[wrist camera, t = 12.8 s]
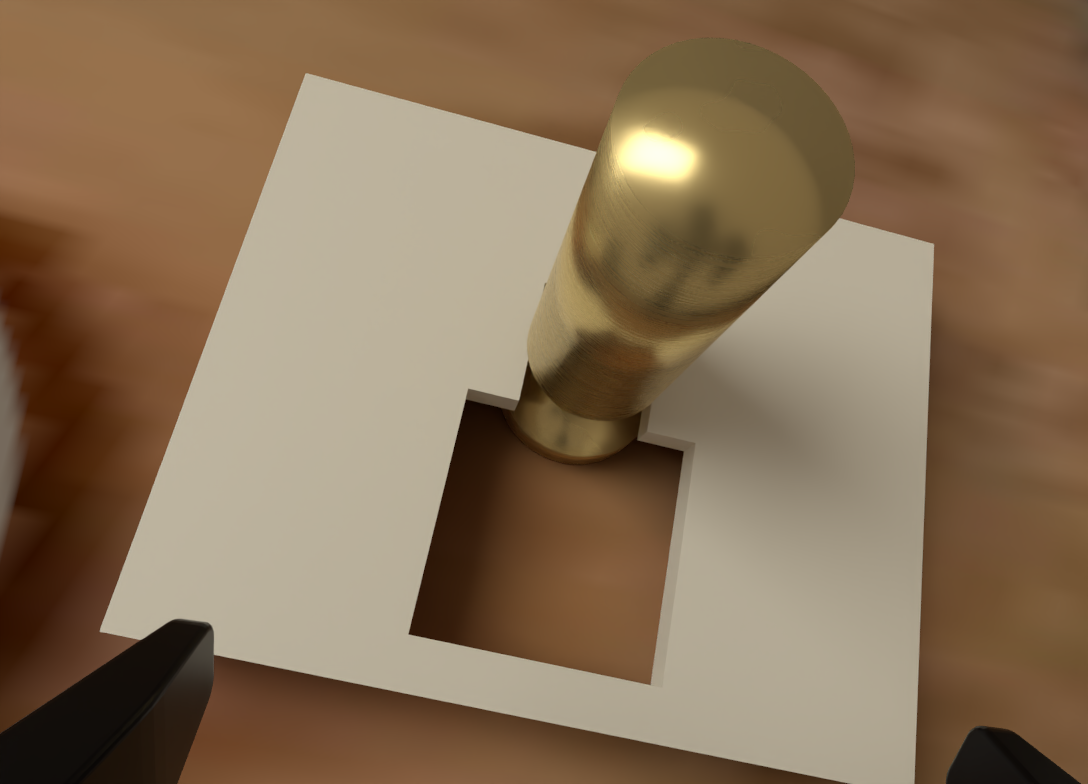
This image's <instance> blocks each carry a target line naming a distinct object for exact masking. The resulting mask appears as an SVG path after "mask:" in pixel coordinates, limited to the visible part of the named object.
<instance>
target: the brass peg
mask: <svg viewBox="0 0 1088 784" xmlns="http://www.w3.org/2000/svg"><path fill="white" fill-rule="evenodd" d="M854 176H855V161H854V154H853V147H852V143H851V140H850V136H849V133H848V131H847V128H846V126H845V123H844V121H843V119H842V117H841V115H840V114H839V112H838V110H837V108H836V107H835V105H834V104H833V102H832V101H831V100H830V98H829V97H828V95H827V94H826V93H825V92H824V91H823V90H822V89H821V87H820V86H819V85H818V84H817V83H816V82H815V81H814V80H813V79H812V78H810V77H809V76H808V75H807V74H806V73H805V72H804V71H802V70H801V69H800V68H798V67H797V66H795V65H794V64H793V63H791V62H789V61H788V60H786V59H784V58H783V57H781V56H779V55H777V54H775V53H773V52H771V51H769V50H767V49H764V48H762V47H759V46H756V45H753V44H750V43H746V42H742V41H738V40H732V39H724V38H699V39H690V40H686V41H682V42H677V43H674V44H672V45H669V46H667V47H664V48H662V49H660V50H658V51H657V52H655V53H653V54H651V55H650V56H649V57H647V58H646V59H645V60H643V61H642V62H641V63H640V64H639V65H638V66H637V67H636V68H635V69H634V70H633V71H632V72H631V74H630V75H629V77H628V78H627V79H626V81H625V82H624V84H623V86H622V88H621V90H620V93H619V95H618V97H617V100H616V102H615V105H614V108H613V110H612V113H611V115H610V118H609V121H608V123H607V126H606V129H605V131H604V134H603V136H602V139H601V142H600V144H599V147H598V150H597V152H596V155H595V157H594V160H593V163H592V165H591V168H590V170H589V173H588V176H587V178H586V181H585V184H584V186H583V189H582V191H581V194H580V197H579V199H578V202H577V204H576V207H575V210H574V212H573V215H572V218H571V220H570V223H569V225H568V228H567V231H566V233H565V236H564V238H563V241H562V244H561V246H560V249H559V252H558V254H557V257H556V259H555V262H554V265H553V267H552V270H551V272H550V275H549V278H548V280H547V283H546V286H545V288H544V291H543V293H542V296H541V299H540V301H539V304H538V307H537V309H536V312H535V314H534V317H533V320H532V322H531V325H530V329H529V332H528V338H527V354H528V362H527V367H526V371H525V376H524V380H523V385H522V390H521V394H520V399H519V402H518V404H517V406H516V409H515V411H513V410H509V409H505V408H501V410H502V412H503V415H504V417H505V420H506V421H507V423H508V425H509V427H510V428H511V430H512V431H513V432H514V434H515V435H516V436H517V437H518V438H519V439H520V440H521V441H522V442H523V443H524V444H525V445H526V446H527V447H529V448H530V449H531V450H533V451H534V452H536V453H537V454H539V455H541V456H543V457H545V458H548V459H550V460H553V461H556V462H560V463H566V464H590V463H594V462H598V461H601V460H604V459H607V458H609V457H611V456H613V455H614V454H616V453H618V452H619V451H620V450H622V449H623V448H624V447H625V446H627V445H628V444H629V443H630V442H631V441H632V440H633V439H634V438H636V437H637V436H638V432H639V426H640V420H641V414H642V410H644V409H645V408H646V407H648V406H649V405H650V404H651V403H652V402H653V401H654V400H655V399H656V398H657V397H658V396H659V395H660V394H661V393H662V392H663V391H664V390H665V389H666V388H667V387H669V386H670V385H671V384H672V383H673V382H674V381H675V380H676V379H677V378H678V377H679V376H680V375H681V374H682V373H683V372H684V371H685V370H686V369H687V368H688V367H689V366H690V365H691V364H692V363H693V362H694V361H695V360H696V359H697V358H698V357H699V356H700V355H701V354H702V353H703V352H704V351H705V350H707V349H708V348H709V347H710V346H711V345H712V344H713V343H714V342H715V341H716V340H717V339H718V338H719V337H720V336H721V335H722V334H723V333H724V332H725V331H726V330H727V329H728V328H729V327H730V326H731V325H732V324H733V323H734V322H735V321H736V320H737V319H738V318H739V317H740V316H741V315H742V314H743V313H745V312H746V311H747V310H748V309H749V308H750V307H751V306H752V305H753V304H754V303H755V302H756V301H757V300H758V299H759V298H760V297H761V296H762V295H763V294H764V293H765V292H766V291H767V290H768V289H769V288H770V287H771V286H772V285H773V284H774V283H775V282H776V281H777V280H778V279H779V278H780V277H781V276H783V275H784V274H785V273H786V272H787V271H788V270H789V269H790V268H791V267H792V266H793V265H794V264H795V263H796V262H797V261H798V260H799V259H800V258H801V257H802V256H803V255H804V254H805V253H806V252H807V251H808V250H809V249H810V248H811V247H812V246H813V245H814V244H815V243H816V242H817V241H818V240H820V239H821V238H822V237H823V236H824V235H825V234H826V233H827V232H828V231H829V230H830V229H831V228H832V227H833V226H834V225H835V223H836V222H837V221H838V219H839V218H840V217H841V215H842V214H843V212H844V210H845V208H846V206H847V204H848V202H849V199H850V195H851V192H852V189H853V183H854Z"/></svg>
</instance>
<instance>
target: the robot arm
mask: <svg viewBox="0 0 1088 784" xmlns="http://www.w3.org/2000/svg"><path fill="white" fill-rule="evenodd" d="M213 677H214V631H213V627H212V625H211V624H209V623H208V622H203V621H195V620H188V619H174V620H171V621H169V622H167V623H166V624H164V625H163V626H161V627H160V628H158V629H157V630H155V631H154V632H152V633H151V634H149V635H148V636H146V637H145V638H143V639H142V640H140V641H139V642H137V643H136V644H134V645H133V646H131V647H130V648H128V649H127V650H125V651H124V652H122V653H121V654H119V655H118V656H116V657H115V658H113V659H112V660H110V661H109V662H107V663H106V664H104V665H103V666H101V667H100V668H98V669H97V670H95V671H94V672H92V673H91V674H89V675H88V676H86V677H85V678H83V679H82V680H80V681H79V682H77V683H76V684H74V685H73V686H71V687H70V688H68V689H67V690H65V691H64V692H62V693H61V694H59V695H57V696H56V697H54V698H53V699H51V700H50V701H48V702H47V703H45V704H44V705H42V706H41V707H39V708H38V709H36V710H35V711H33V712H32V713H30V714H29V715H27V716H26V717H24V718H23V719H21V720H20V721H18V722H17V723H15V724H14V725H12V726H11V727H9V728H8V729H6V730H5V731H3V732H2V733H0V784H177V783H178V780H179V778H180V775H181V773H182V770H183V767H184V765H185V762H186V759H187V757H188V754H189V751H190V749H191V746H192V743H193V741H194V738H195V735H196V733H197V730H198V727H199V725H200V722H201V719H202V717H203V714H204V711H205V709H206V706H207V703H208V701H209V698H210V694H211V690H212V686H213ZM946 784H1081V783H1079V782H1078V781H1077V780H1076V779H1074V778H1073V777H1072V776H1070V775H1069V774H1068V773H1067V772H1065V771H1064V770H1063V769H1061V768H1060V767H1059V766H1057V765H1056V764H1055V763H1054V762H1052V761H1051V760H1050V759H1048V758H1047V757H1046V756H1045V755H1043V754H1042V753H1041V752H1039V751H1038V750H1037V749H1036V748H1034V747H1033V746H1032V745H1030V744H1029V743H1028V742H1026V741H1025V740H1024V739H1023V738H1021V737H1020V736H1019V735H1017V734H1016V733H1014V732H1012V731H1010V730H1007V729H1002V728H995V727H987V726H976V727H975V728H973V729H972V730H970V732H969V733H968V735H967V737H966V738H965V740H964V742H963V744H962V746H961V748H960V749H959V751H958V753H957V755H956V757H955V759H954V760H953V762H952V764H951V766H950V768H949V770H948V772H947V777H946Z"/></svg>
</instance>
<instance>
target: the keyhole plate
mask: <svg viewBox="0 0 1088 784" xmlns="http://www.w3.org/2000/svg"><path fill="white" fill-rule="evenodd" d="M595 155H596V152H594V151H590V150H586V149H583V148H579V147H575V146H572V145H568V144H564V143H561V142H557V141H553V140H550V139H546V138H542V137H539V136H535V135H531V134H528V133H524V132H520V131H517V130H513V129H509V128H506V127H502V126H498V125H495V124H491V123H487V122H484V121H480V120H476V119H473V118H469V117H465V116H462V115H458V114H454V113H451V112H447V111H443V110H440V109H436V108H432V107H429V106H425V105H421V104H417V103H414V102H410V101H406V100H403V99H399V98H395V97H392V96H388V95H384V94H381V93H377V92H373V91H370V90H366V89H362V88H359V87H355V86H351V85H348V84H344V83H340V82H337V81H333V80H329V79H326V78H322V77H318V76H315V75H311V74H307V73H306V74H305V77H304V80H303V82H302V85H301V88H300V90H299V93H298V96H297V98H296V101H295V104H294V107H293V109H292V112H291V115H290V117H289V120H288V123H287V126H286V128H285V131H284V134H283V136H282V139H281V142H280V144H279V147H278V150H277V153H276V155H275V158H274V161H273V163H272V166H271V169H270V172H269V174H268V177H267V180H266V182H265V185H264V188H263V190H262V193H261V196H260V199H259V201H258V204H257V207H256V209H255V212H254V215H253V217H252V220H251V223H250V226H249V228H248V231H247V234H246V236H245V239H244V242H243V245H242V247H241V250H240V253H239V255H238V258H237V261H236V263H235V266H234V269H233V272H232V274H231V277H230V280H229V282H228V285H227V288H226V291H225V293H224V296H223V299H222V301H221V304H220V307H219V309H218V312H217V315H216V318H215V320H214V323H213V326H212V328H211V331H210V334H209V336H208V339H207V342H206V345H205V347H204V350H203V353H202V355H201V358H200V361H199V364H198V366H197V369H196V372H195V374H194V377H193V380H192V382H191V385H190V388H189V391H188V393H187V396H186V399H185V401H184V404H183V407H182V410H181V412H180V415H179V418H178V420H177V423H176V426H175V428H174V431H173V434H172V437H171V439H170V442H169V445H168V447H167V450H166V453H165V456H164V458H163V461H162V464H161V466H160V469H159V472H158V474H157V477H156V480H155V483H154V485H153V488H152V491H151V493H150V496H149V499H148V501H147V504H146V507H145V510H144V512H143V515H142V518H141V520H140V523H139V526H138V529H137V531H136V534H135V537H134V539H133V542H132V545H131V547H130V550H129V553H128V556H127V558H126V561H125V564H124V566H123V569H122V572H121V575H120V577H119V580H118V583H117V585H116V588H115V591H114V593H113V596H112V599H111V602H110V604H109V607H108V610H107V612H106V615H105V618H104V620H103V623H102V626H101V629H100V632H105V633H110V634H114V635H119V636H124V637H129V638H134V639H139V640H142V639H143V638H145V637H146V636H148V635H149V634H151V633H152V632H154V631H155V630H157V629H158V628H160V627H161V626H163V625H164V624H166V623H167V622H169V621H171V620H174V619H188V620H195V621H203V622H208V623H209V624H211V625H212V627H213V631H214V655H218V656H223V657H228V658H233V659H238V660H243V661H248V662H253V663H257V664H262V665H267V666H272V667H277V668H282V669H287V670H292V671H297V672H302V673H307V674H312V675H317V676H322V677H327V678H331V679H336V680H341V681H346V682H351V683H356V684H361V685H366V686H371V687H376V688H381V689H386V690H391V691H396V692H401V693H405V694H410V695H415V696H420V697H425V698H430V699H435V700H440V701H445V702H450V703H455V704H460V705H465V706H470V707H474V708H479V709H484V710H489V711H494V712H499V713H504V714H509V715H514V716H519V717H524V718H529V719H534V720H539V721H544V722H548V723H553V724H558V725H563V726H568V727H573V728H578V729H583V730H588V731H593V732H598V733H603V734H608V735H613V736H618V737H622V738H627V739H632V740H637V741H642V742H647V743H652V744H657V745H662V746H667V747H672V748H677V749H682V750H687V751H691V752H696V753H701V754H706V755H711V756H716V757H721V758H726V759H731V760H736V761H741V762H746V763H751V764H756V765H761V766H765V767H770V768H775V769H780V770H785V771H790V772H795V773H800V774H805V775H810V776H815V777H820V778H825V779H830V780H835V781H839V782H844V783H849V784H914V779H915V751H916V724H917V697H918V669H919V642H920V614H921V587H922V560H923V532H924V505H925V477H926V450H927V423H928V395H929V368H930V340H931V313H932V286H933V258H934V244H932V243H928V242H924V241H921V240H917V239H913V238H910V237H906V236H902V235H899V234H895V233H891V232H888V231H884V230H880V229H877V228H873V227H869V226H866V225H862V224H858V223H855V222H851V221H847V220H843V219H840V218H839V219H838V221H837V222H836V223H835V225H834V226H833V227H832V228H831V229H830V230H829V231H828V232H827V233H826V234H825V235H824V236H823V237H822V238H821V239H820V240H818V241H817V242H816V243H815V244H814V245H813V246H812V247H811V248H810V249H809V250H808V251H807V252H806V253H805V254H804V255H803V256H802V257H801V258H800V259H799V260H798V261H797V262H796V263H795V264H794V265H793V266H792V267H791V268H790V269H789V270H788V271H787V272H786V273H785V274H784V275H783V276H781V277H780V278H779V279H778V280H777V281H776V282H775V283H774V284H773V285H772V286H771V287H770V288H769V289H768V290H767V291H766V292H765V293H764V294H763V295H762V296H761V297H760V298H759V299H758V300H757V301H756V302H755V303H754V304H753V305H752V306H751V307H750V308H749V309H748V310H747V311H746V312H745V313H743V314H742V315H741V316H740V317H739V318H738V319H737V320H736V321H735V322H734V323H733V324H732V325H731V326H730V327H729V328H728V329H727V330H726V331H725V332H724V333H723V334H722V335H721V336H720V337H719V338H718V339H717V340H716V341H715V342H714V343H713V344H712V345H711V346H710V347H709V348H708V349H707V350H705V351H704V352H703V353H702V354H701V355H700V356H699V357H698V358H697V359H696V360H695V361H694V362H693V363H692V364H691V365H690V366H689V367H688V368H687V369H686V370H685V371H684V372H683V373H682V374H681V375H680V376H679V377H678V378H677V379H676V380H675V381H674V382H673V383H672V384H671V385H670V386H669V387H667V388H666V389H665V390H664V391H663V392H662V393H661V394H660V395H659V396H658V397H657V398H656V399H655V400H654V401H653V402H652V403H651V404H650V405H649V406H648V407H646V408H645V409H644V410H642V414H641V420H640V426H639V432H638V438H637V440H638V441H643V442H647V443H651V444H655V445H659V446H664V447H668V448H672V449H676V450H680V451H684V454H683V461H682V468H681V475H680V482H679V489H678V496H677V503H676V510H675V517H674V524H673V531H672V538H671V545H670V552H669V559H668V566H667V573H666V580H665V587H664V594H663V601H662V608H661V615H660V622H659V629H658V636H657V643H656V650H655V657H654V664H653V671H652V678H651V685H647V684H642V683H637V682H632V681H628V680H623V679H618V678H613V677H609V676H604V675H599V674H594V673H590V672H585V671H580V670H575V669H570V668H566V667H561V666H556V665H551V664H547V663H542V662H537V661H532V660H528V659H523V658H518V657H513V656H508V655H504V654H499V653H494V652H489V651H485V650H480V649H475V648H470V647H466V646H461V645H456V644H451V643H447V642H442V641H437V640H432V639H427V638H423V637H418V636H413V635H408V634H409V630H410V626H411V622H412V618H413V613H414V609H415V605H416V601H417V597H418V593H419V589H420V585H421V581H422V577H423V572H424V568H425V564H426V560H427V556H428V552H429V548H430V544H431V540H432V536H433V531H434V527H435V523H436V519H437V515H438V511H439V507H440V503H441V499H442V495H443V490H444V486H445V482H446V478H447V474H448V470H449V466H450V462H451V458H452V454H453V449H454V445H455V441H456V437H457V433H458V429H459V425H460V421H461V417H462V413H463V408H464V404H465V400H466V399H467V400H471V401H475V402H479V403H484V404H488V405H492V406H496V407H500V408H505V409H509V410H513V411H515V409H516V406H517V404H518V402H519V399H520V394H521V390H522V385H523V380H524V376H525V371H526V367H527V362H528V354H527V338H528V332H529V329H530V325H531V322H532V320H533V317H534V314H535V312H536V309H537V307H538V304H539V301H540V299H541V296H542V293H543V291H544V288H545V286H546V283H547V280H548V278H549V275H550V272H551V270H552V267H553V265H554V262H555V259H556V257H557V254H558V252H559V249H560V246H561V244H562V241H563V238H564V236H565V233H566V231H567V228H568V225H569V223H570V220H571V218H572V215H573V212H574V210H575V207H576V204H577V202H578V199H579V197H580V194H581V191H582V189H583V186H584V184H585V181H586V178H587V176H588V173H589V170H590V168H591V165H592V163H593V160H594V157H595Z"/></svg>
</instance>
